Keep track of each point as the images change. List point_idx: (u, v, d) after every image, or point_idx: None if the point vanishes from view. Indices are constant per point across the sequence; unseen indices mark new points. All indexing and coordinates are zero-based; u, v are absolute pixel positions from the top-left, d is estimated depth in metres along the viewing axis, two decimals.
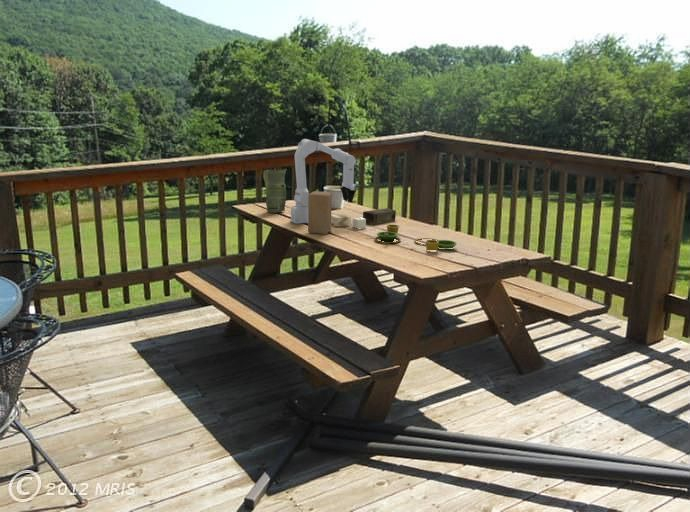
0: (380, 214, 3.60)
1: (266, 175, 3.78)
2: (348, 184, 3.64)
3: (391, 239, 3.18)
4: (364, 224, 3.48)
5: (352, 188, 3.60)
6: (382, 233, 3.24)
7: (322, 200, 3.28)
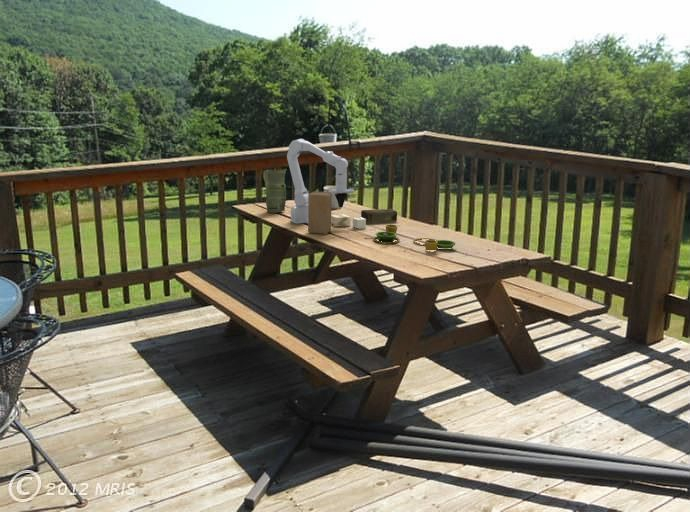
0: (376, 214, 3.61)
1: (266, 175, 3.78)
2: None
3: (390, 239, 3.18)
4: (364, 224, 3.48)
5: None
6: (381, 233, 3.24)
7: (322, 200, 3.28)
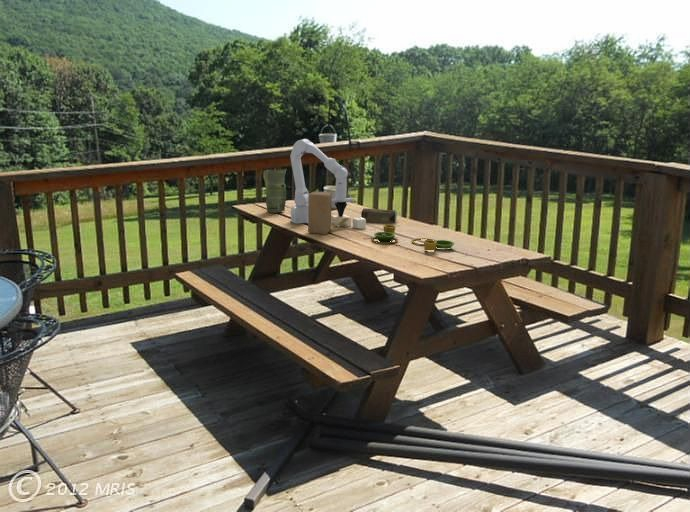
0: (372, 213, 3.63)
1: (266, 175, 3.78)
2: None
3: (388, 239, 3.18)
4: (364, 224, 3.48)
5: None
6: (379, 233, 3.24)
7: (322, 200, 3.28)
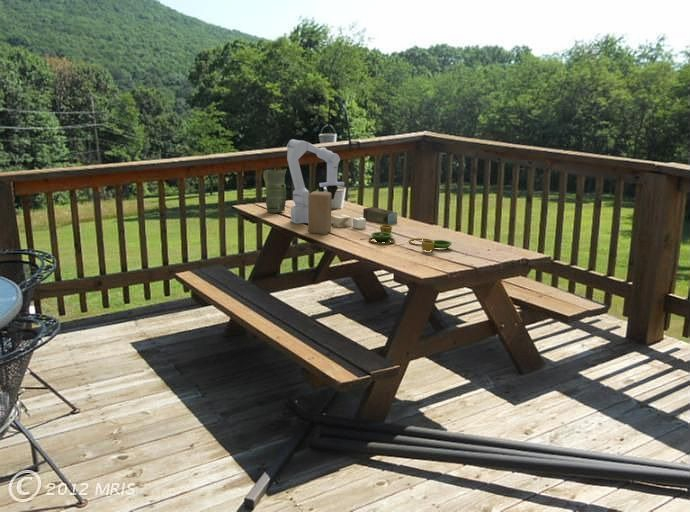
0: (370, 211, 3.67)
1: (266, 175, 3.78)
2: (327, 181, 3.68)
3: (386, 239, 3.17)
4: (364, 224, 3.48)
5: (320, 185, 3.66)
6: (376, 233, 3.23)
7: (322, 200, 3.28)
